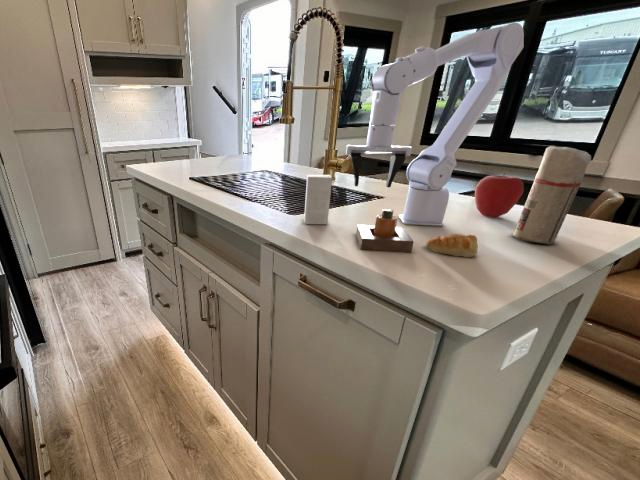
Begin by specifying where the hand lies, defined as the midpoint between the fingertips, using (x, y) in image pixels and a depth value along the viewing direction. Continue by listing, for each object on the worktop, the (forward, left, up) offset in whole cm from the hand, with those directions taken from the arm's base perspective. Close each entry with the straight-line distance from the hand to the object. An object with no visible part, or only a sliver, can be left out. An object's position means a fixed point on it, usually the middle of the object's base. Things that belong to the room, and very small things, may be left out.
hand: (371, 186), depth 89 cm
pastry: (-16, +17, -10) cm, 25 cm away
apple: (-36, -16, -10) cm, 41 cm away
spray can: (-37, +5, -10) cm, 39 cm away
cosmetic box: (+13, 0, -10) cm, 16 cm away
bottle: (-2, +14, -10) cm, 17 cm away
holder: (-2, +14, -10) cm, 17 cm away
